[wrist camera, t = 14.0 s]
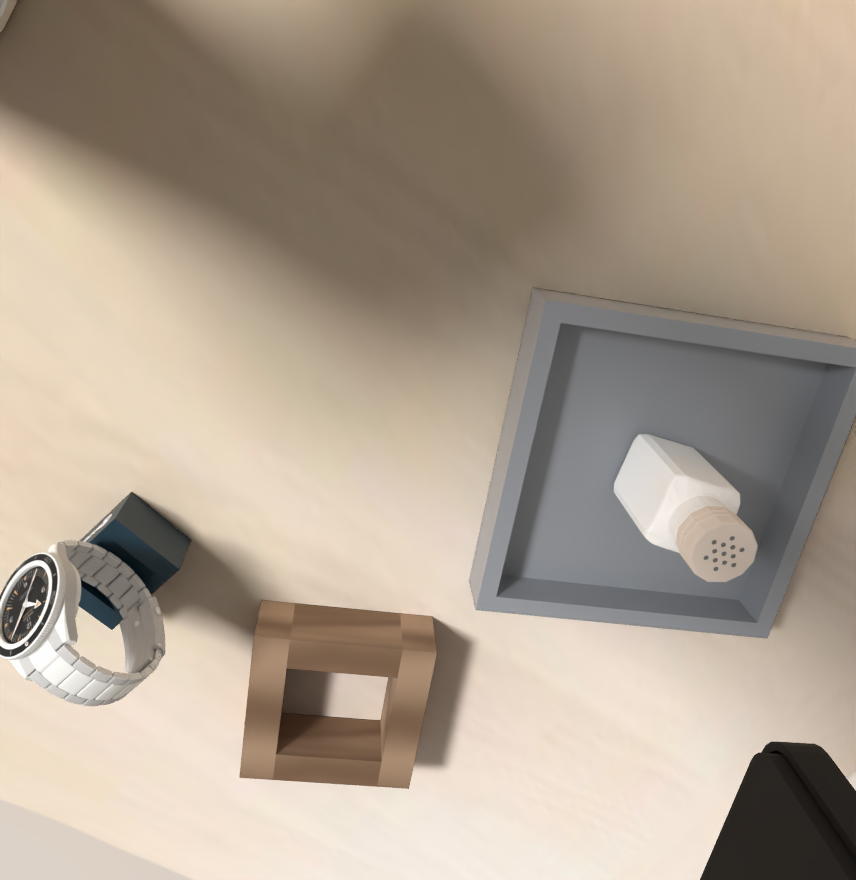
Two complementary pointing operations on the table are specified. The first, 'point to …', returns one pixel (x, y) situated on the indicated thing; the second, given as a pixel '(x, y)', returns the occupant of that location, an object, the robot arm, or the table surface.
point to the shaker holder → (330, 738)
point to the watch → (92, 603)
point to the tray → (669, 417)
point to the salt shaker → (685, 507)
